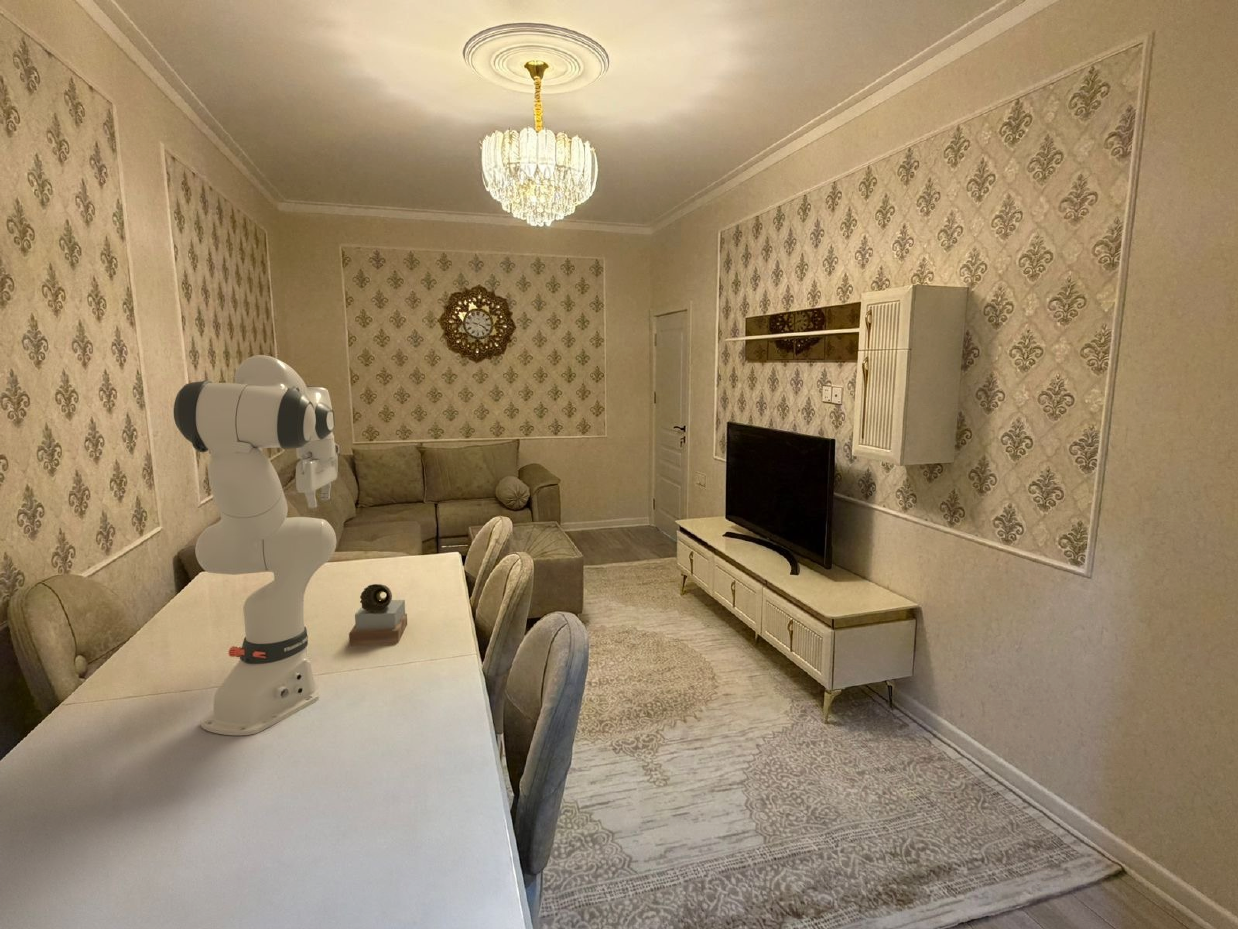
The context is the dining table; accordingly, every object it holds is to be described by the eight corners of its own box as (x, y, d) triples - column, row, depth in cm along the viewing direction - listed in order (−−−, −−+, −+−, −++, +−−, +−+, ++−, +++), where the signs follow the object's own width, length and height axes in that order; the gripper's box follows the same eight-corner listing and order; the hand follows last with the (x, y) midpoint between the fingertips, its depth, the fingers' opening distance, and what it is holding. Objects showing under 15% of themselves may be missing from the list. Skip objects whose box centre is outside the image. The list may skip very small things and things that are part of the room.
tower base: (398, 645, 163) (398, 630, 162) (349, 648, 161) (349, 633, 161) (407, 627, 175) (406, 613, 174) (362, 629, 173) (361, 615, 173)
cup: (400, 584, 172) (392, 588, 164) (393, 611, 171) (385, 616, 163) (373, 578, 171) (364, 581, 163) (366, 605, 170) (356, 609, 162)
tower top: (395, 628, 164) (394, 613, 164) (355, 629, 163) (354, 614, 163) (405, 613, 174) (404, 599, 173) (367, 614, 173) (367, 600, 173)
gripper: (314, 455, 151) (318, 512, 153) (341, 445, 171) (344, 495, 173) (286, 455, 150) (290, 512, 152) (316, 445, 170) (319, 496, 172)
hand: (319, 503), depth 163 cm, fingers open, 8 cm apart
